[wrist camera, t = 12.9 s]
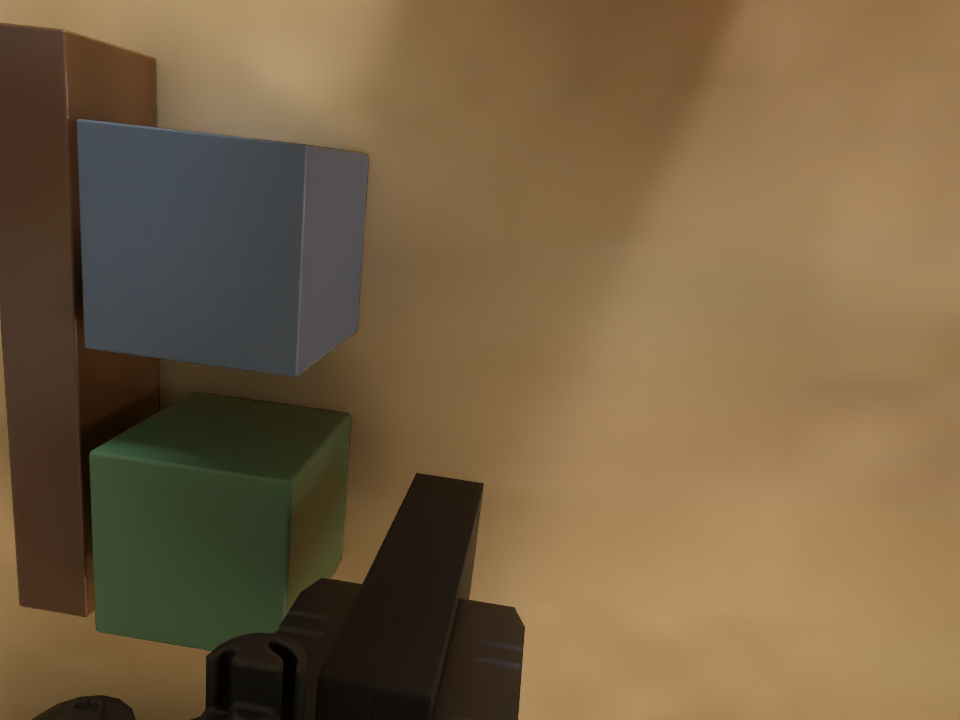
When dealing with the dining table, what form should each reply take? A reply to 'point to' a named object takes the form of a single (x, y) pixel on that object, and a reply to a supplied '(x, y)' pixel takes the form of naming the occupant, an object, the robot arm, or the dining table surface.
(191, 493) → the green block
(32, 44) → the walnut rail
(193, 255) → the slate block
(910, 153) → the dining table surface
